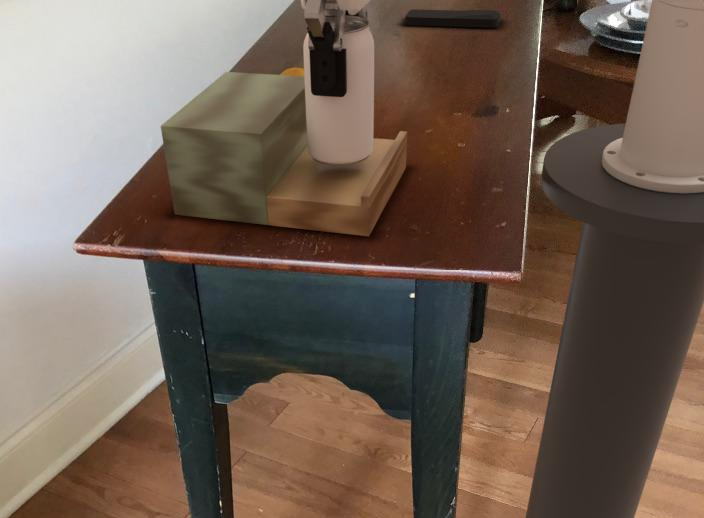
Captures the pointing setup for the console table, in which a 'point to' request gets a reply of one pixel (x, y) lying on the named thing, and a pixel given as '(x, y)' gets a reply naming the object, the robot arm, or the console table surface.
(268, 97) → the green block on base
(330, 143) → the can
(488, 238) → the console table surface
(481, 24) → the remote control
